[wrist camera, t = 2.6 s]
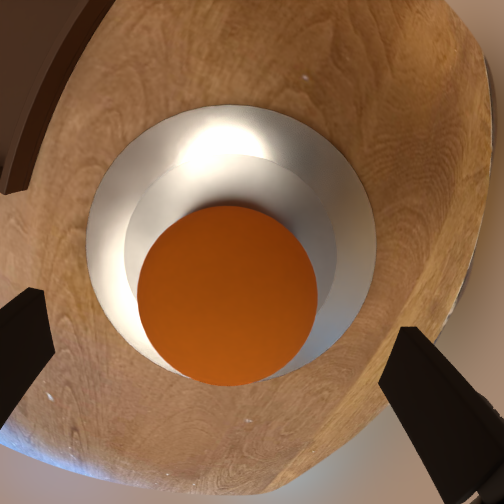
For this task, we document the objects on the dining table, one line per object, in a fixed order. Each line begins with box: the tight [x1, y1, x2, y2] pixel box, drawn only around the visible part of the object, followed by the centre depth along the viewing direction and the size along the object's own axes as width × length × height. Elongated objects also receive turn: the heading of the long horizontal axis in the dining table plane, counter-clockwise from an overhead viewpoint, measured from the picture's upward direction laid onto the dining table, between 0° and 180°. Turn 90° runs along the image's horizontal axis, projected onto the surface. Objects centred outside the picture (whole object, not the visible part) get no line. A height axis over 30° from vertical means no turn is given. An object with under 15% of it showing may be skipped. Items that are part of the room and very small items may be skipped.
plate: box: [86, 104, 377, 383], centre depth 18 cm, size 18×18×1 cm
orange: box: [137, 206, 318, 386], centre depth 14 cm, size 8×8×8 cm
